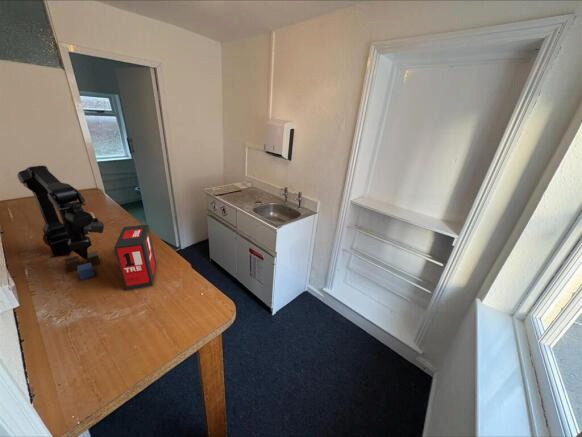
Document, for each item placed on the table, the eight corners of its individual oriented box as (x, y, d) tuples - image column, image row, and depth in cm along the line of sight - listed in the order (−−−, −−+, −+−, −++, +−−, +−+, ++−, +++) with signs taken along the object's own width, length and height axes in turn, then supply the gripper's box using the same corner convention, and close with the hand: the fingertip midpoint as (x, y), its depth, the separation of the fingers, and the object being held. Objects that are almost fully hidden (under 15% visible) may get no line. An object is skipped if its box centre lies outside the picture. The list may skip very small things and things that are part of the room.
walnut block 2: (88, 266, 102) (85, 258, 100) (87, 262, 105) (84, 253, 103) (100, 263, 105) (97, 255, 103) (99, 258, 108) (96, 250, 106)
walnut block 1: (68, 272, 98) (64, 263, 96) (67, 267, 101) (64, 258, 99) (81, 268, 101) (78, 260, 99) (81, 263, 104) (78, 255, 102)
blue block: (81, 280, 95) (77, 271, 93) (80, 274, 97) (77, 266, 96) (94, 275, 97) (91, 267, 96) (93, 270, 100) (90, 262, 98)
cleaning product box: (152, 285, 95) (143, 243, 86) (126, 290, 91) (114, 247, 83) (156, 262, 108) (148, 224, 100) (133, 266, 105) (123, 227, 97)
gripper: (102, 222, 88) (112, 257, 94) (96, 207, 100) (105, 238, 106) (62, 230, 80) (76, 267, 87) (60, 212, 93) (73, 246, 99)
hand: (84, 253), depth 95 cm, fingers open, 9 cm apart
